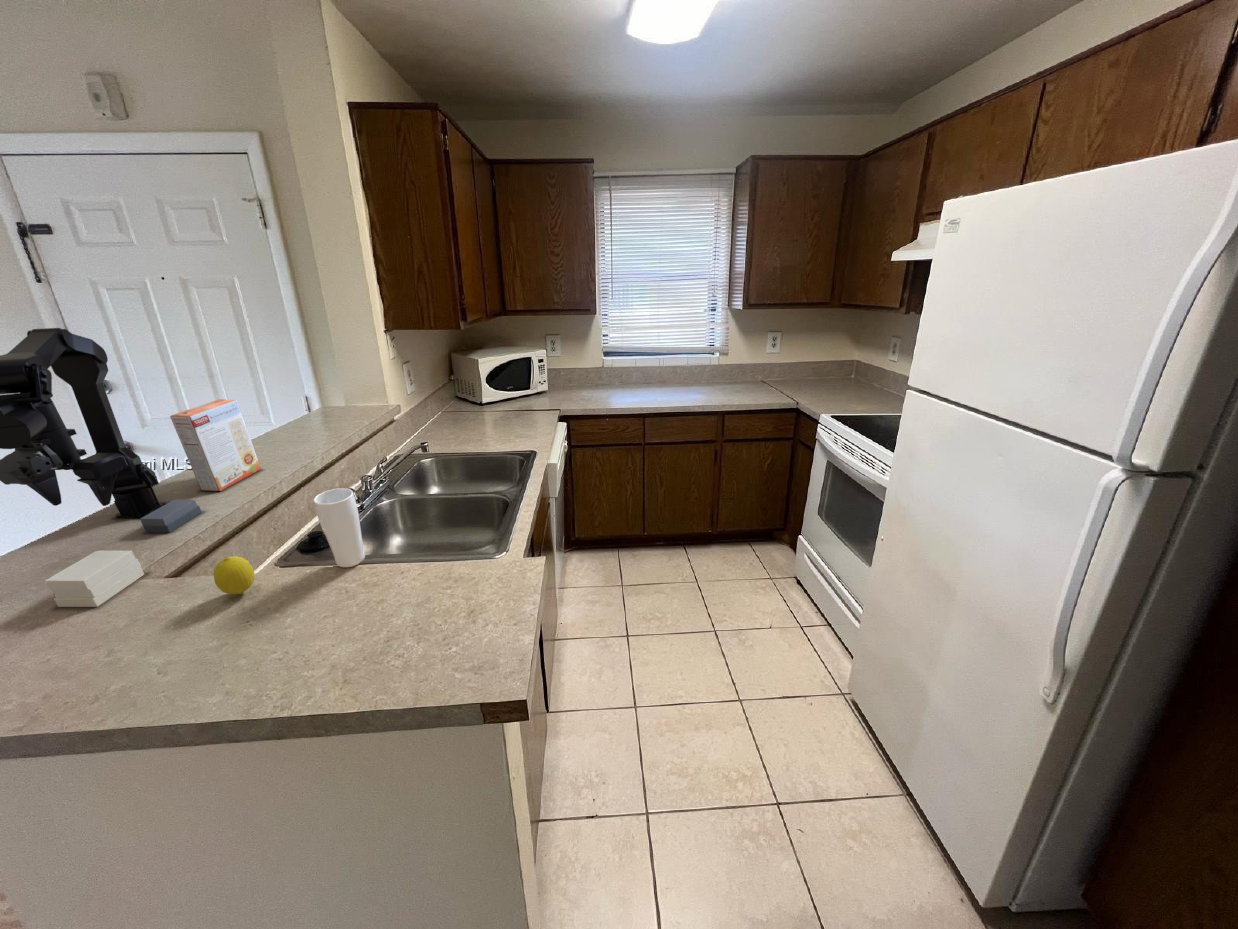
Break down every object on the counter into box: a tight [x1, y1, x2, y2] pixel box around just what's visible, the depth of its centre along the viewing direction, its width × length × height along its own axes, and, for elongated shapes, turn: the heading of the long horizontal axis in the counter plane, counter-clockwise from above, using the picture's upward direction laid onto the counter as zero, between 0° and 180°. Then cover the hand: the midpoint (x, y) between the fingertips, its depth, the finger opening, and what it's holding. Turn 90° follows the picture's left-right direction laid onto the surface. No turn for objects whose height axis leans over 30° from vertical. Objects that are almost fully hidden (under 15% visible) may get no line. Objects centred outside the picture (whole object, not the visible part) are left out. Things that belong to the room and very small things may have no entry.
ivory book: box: [44, 550, 137, 591], centre depth 85 cm, size 9×7×2 cm
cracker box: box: [169, 398, 262, 492], centre depth 125 cm, size 14×6×21 cm, turn 174°
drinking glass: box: [313, 487, 366, 568], centre depth 93 cm, size 7×7×15 cm
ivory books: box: [51, 558, 145, 608], centre depth 86 cm, size 9×7×4 cm
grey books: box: [139, 499, 202, 534], centre depth 108 cm, size 9×5×4 cm, turn 1°
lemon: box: [213, 555, 255, 595], centre depth 85 cm, size 6×6×8 cm
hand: (82, 504), depth 91 cm, fingers open, 9 cm apart
